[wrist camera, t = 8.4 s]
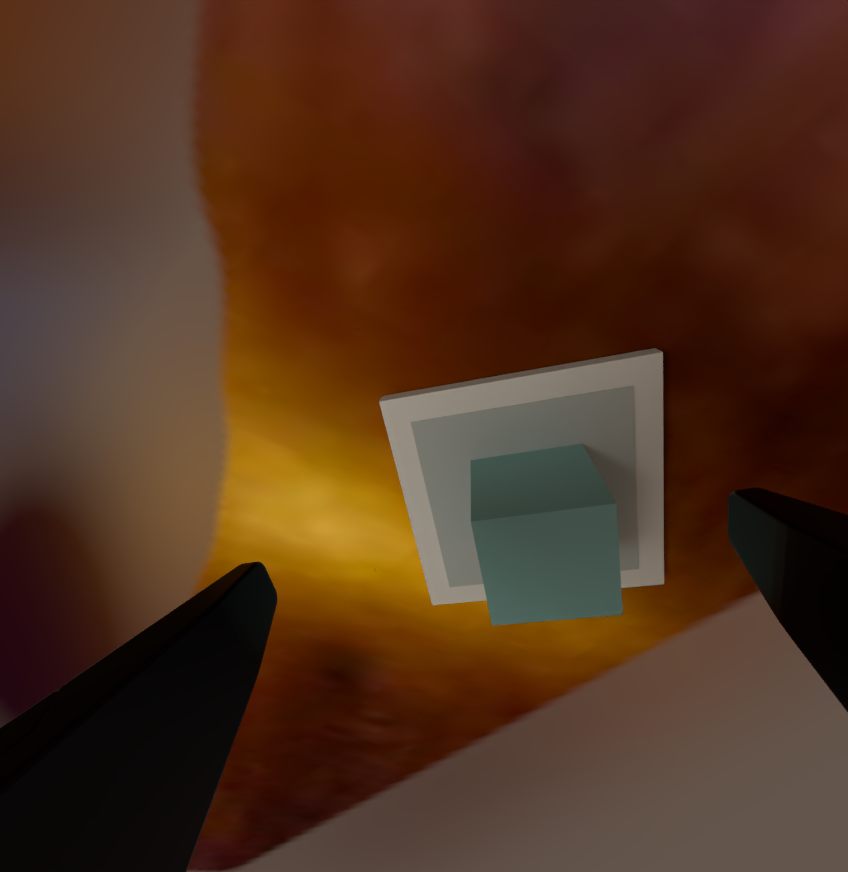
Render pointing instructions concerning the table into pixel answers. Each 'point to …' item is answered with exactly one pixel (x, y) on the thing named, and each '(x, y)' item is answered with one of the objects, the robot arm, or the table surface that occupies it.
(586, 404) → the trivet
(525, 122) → the table surface
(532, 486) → the cube
